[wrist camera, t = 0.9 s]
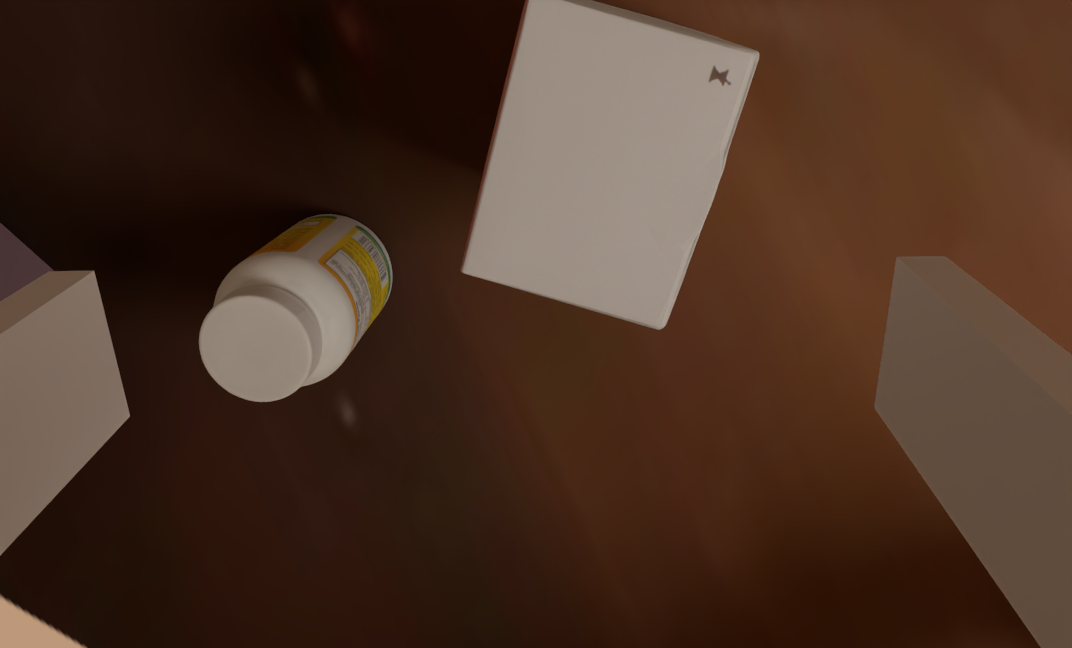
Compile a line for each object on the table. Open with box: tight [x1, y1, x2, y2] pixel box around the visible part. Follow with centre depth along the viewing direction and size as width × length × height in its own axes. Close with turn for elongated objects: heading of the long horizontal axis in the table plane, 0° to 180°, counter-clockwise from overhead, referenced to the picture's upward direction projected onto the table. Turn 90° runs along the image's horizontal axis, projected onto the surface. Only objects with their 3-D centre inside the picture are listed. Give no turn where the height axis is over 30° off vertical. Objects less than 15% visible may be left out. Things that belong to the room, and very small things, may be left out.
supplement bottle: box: [199, 214, 392, 402], centre depth 34 cm, size 5×5×10 cm
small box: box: [460, 0, 759, 330], centre depth 29 cm, size 8×6×13 cm
